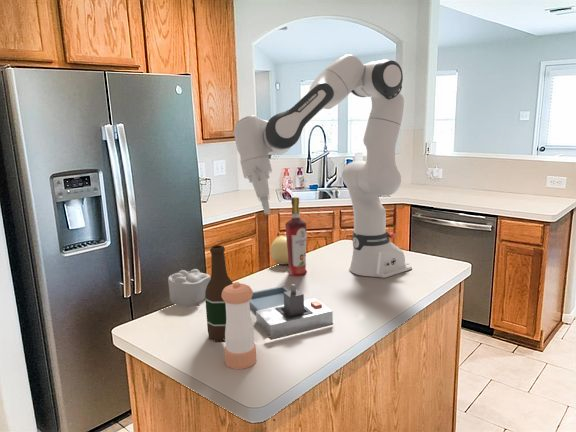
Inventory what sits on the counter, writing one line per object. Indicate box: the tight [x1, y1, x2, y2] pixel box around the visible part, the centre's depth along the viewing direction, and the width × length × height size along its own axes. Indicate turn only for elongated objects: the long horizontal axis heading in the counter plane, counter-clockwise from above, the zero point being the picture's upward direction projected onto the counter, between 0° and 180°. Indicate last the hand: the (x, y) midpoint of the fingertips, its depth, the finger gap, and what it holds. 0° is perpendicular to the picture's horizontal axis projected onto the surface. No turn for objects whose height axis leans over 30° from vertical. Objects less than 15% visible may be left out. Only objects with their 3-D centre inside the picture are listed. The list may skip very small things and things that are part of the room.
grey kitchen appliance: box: [255, 298, 334, 341], centre depth 123 cm, size 18×10×5 cm, turn 115°
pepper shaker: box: [221, 281, 257, 370], centre depth 104 cm, size 7×7×19 cm
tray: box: [250, 285, 291, 313], centre depth 137 cm, size 14×14×2 cm
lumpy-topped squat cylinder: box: [167, 268, 211, 307], centre depth 143 cm, size 10×13×9 cm
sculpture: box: [269, 234, 289, 265], centre depth 177 cm, size 12×12×11 cm
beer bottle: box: [204, 244, 234, 343], centre depth 116 cm, size 8×8×24 cm
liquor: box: [284, 196, 308, 277], centre depth 159 cm, size 7×7×28 cm
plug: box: [284, 283, 305, 316], centre depth 123 cm, size 4×4×10 cm
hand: (267, 213), depth 140 cm, fingers open, 8 cm apart
